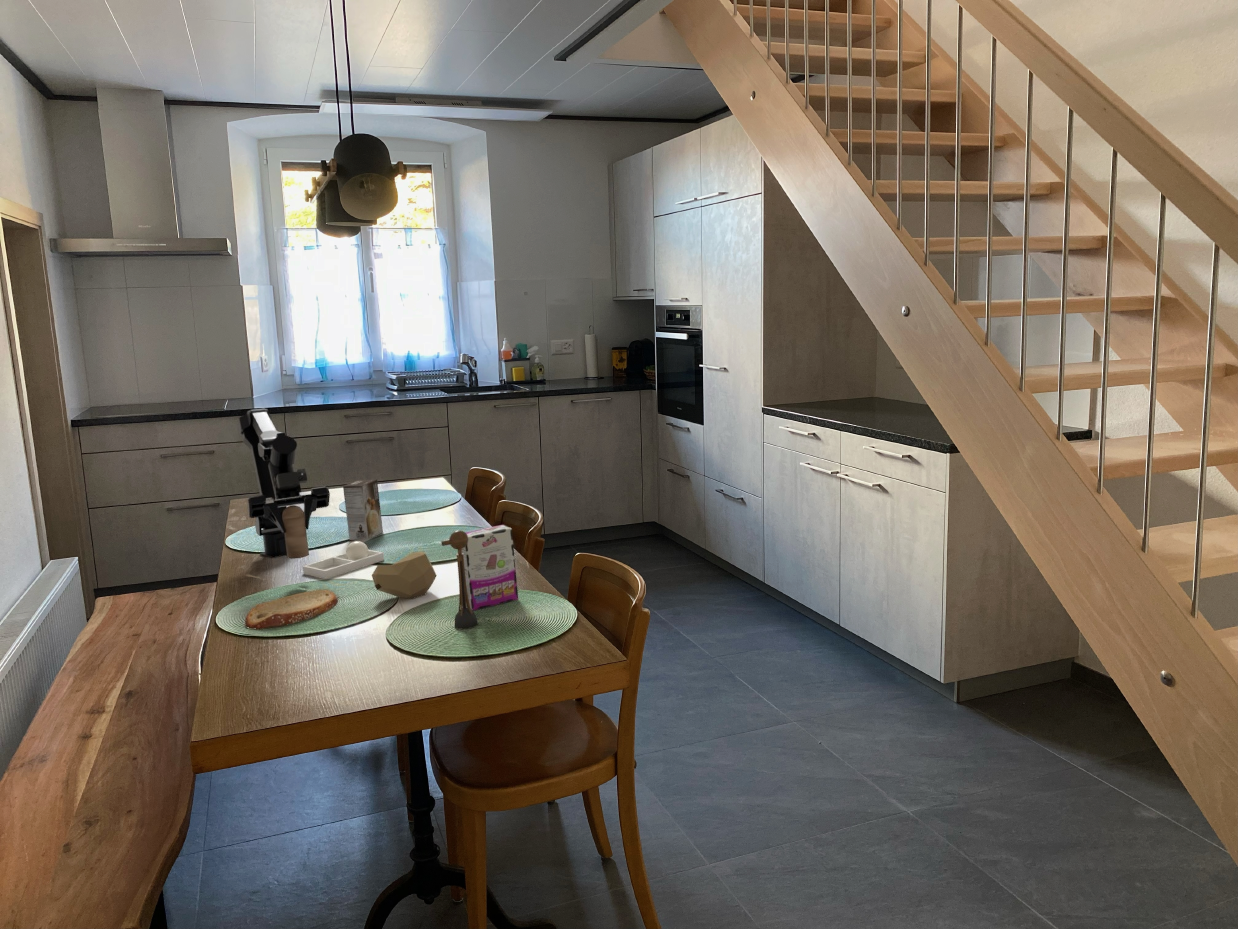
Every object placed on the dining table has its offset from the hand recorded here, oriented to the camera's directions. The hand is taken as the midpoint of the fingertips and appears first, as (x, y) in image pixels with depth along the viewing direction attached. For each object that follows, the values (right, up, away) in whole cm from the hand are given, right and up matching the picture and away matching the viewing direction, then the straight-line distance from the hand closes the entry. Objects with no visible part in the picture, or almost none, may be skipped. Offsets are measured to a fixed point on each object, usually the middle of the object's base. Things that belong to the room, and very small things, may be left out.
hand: (295, 530), depth 217 cm
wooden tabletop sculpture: (+46, -17, -32) cm, 59 cm away
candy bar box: (+50, -15, -19) cm, 55 cm away
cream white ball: (+10, -10, +17) cm, 22 cm away
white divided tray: (+8, -11, +13) cm, 19 cm away
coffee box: (+4, -5, +45) cm, 46 cm away
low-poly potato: (+29, -14, -11) cm, 34 cm away
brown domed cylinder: (0, -6, +2) cm, 7 cm away
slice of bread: (+6, -17, -18) cm, 26 cm away
